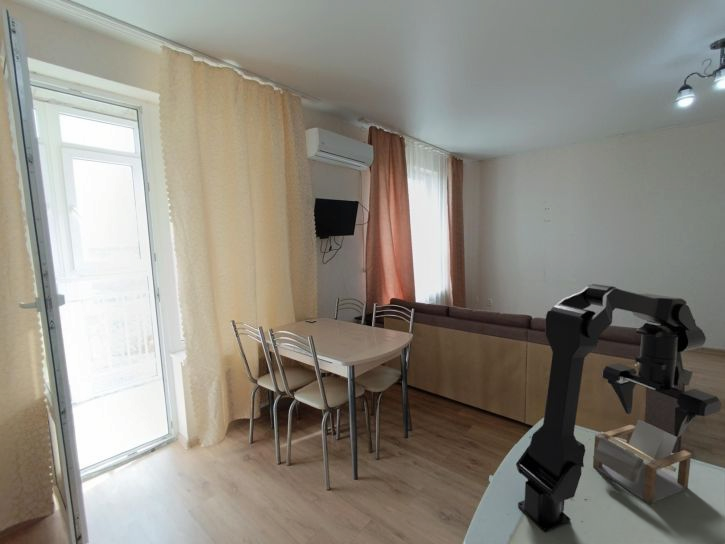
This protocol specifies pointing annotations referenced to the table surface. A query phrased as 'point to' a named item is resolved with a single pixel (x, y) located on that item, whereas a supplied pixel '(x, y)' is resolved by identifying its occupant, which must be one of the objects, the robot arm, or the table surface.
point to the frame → (653, 466)
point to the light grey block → (652, 440)
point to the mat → (663, 483)
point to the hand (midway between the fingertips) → (651, 424)
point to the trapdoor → (622, 457)
